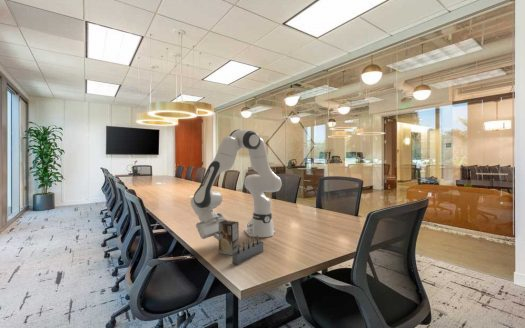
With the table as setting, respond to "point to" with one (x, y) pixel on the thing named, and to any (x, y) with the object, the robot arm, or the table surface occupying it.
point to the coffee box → (228, 237)
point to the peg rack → (247, 251)
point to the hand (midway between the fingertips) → (221, 240)
